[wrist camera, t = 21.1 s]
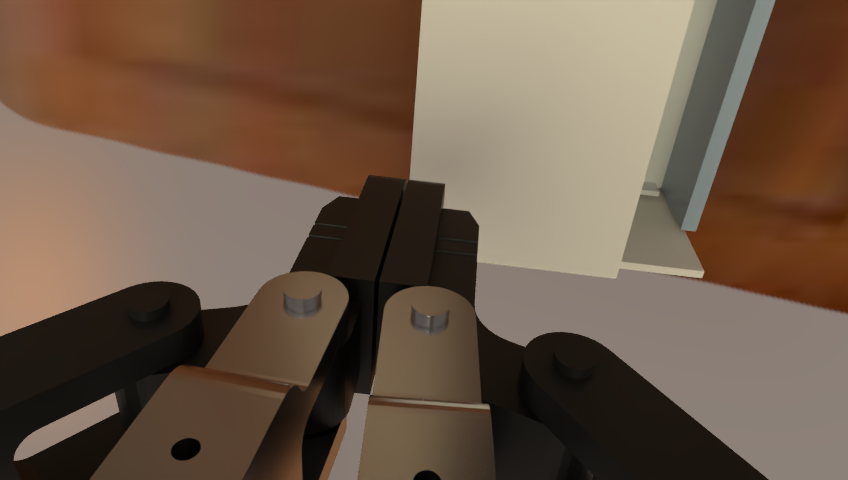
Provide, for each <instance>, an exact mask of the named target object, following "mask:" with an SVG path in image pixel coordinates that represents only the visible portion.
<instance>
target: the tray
mask: <svg viewBox="0 0 848 480" xmlns="http://www.w3.org/2000/svg"><path fill="white" fill-rule="evenodd" d="M774 3H775V0H695V2H694V6H693V9H692V13H691V16H690V20H689V23H688V27H687V30H686V34H685V38H684V41H683V45H682V48H681V52H680V55H679V59H678V62H677V66H676V69H675V73H674V76H673V80H672V84H671V87H670V91H669V94H668V98H667V101H666V105H665V108H664V112H663V115H662V119H661V122H660V126H659V130H658V133H657V137H656V140H655V144H654V147H653V151H652V154H651V158H650V161H649V165H648V168H647V172H646V176H645V179H644V183H643V186H642V190H641V193H640V194H641V195H650V196H659V193H660V191H659V189H658V188H661V189H662V191H663V193H664V196H665V198H666V200H667V202H668V204H669V206H670V208H671V210H672V212H673V215H674V217H675V219H676V221H677V223H678V225H679V227H680V229H681V230H688V231H696V229H697V227H698V224H699V221H700V218H701V215H702V212H703V209H704V206H705V203H706V200H707V198H708V195H709V192H710V189H711V186H712V183H713V180H714V177H715V174H716V171H717V169H718V166H719V163H720V160H721V157H722V154H723V151H724V148H725V145H726V142H727V140H728V137H729V134H730V131H731V128H732V125H733V122H734V119H735V116H736V113H737V111H738V108H739V105H740V102H741V99H742V96H743V93H744V90H745V87H746V84H747V82H748V79H749V76H750V73H751V70H752V67H753V64H754V61H755V58H756V55H757V53H758V50H759V47H760V44H761V41H762V38H763V35H764V32H765V29H766V26H767V24H768V21H769V18H770V15H771V12H772V9H773V6H774Z"/></svg>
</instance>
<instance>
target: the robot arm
mask: <svg viewBox="0 0 848 480" xmlns="http://www.w3.org/2000/svg"><path fill="white" fill-rule="evenodd" d="M444 196H445V184H444V183H436V182H427V181H418V180H408V183H407V186H406V179H399V178H391V177H382V176H373V175H369V176H368V178H367V180H366V183H365V185H364V187H363V190H362V192H361V195H360V197H359V199H358V198H349V197H340V196H339V197H338V198H336V199H335V200H333V201H332V202H330V203H329V204H327V205H326V206H324V207H323V208H322V210H321V211H320V213H319V215H318V218H317V220H316V221H315V225H313V227H312V229H311V231H310V233H309V237H308V238H307V239H306V241H305V243H304V245H303V247H302V249H301V251H300V253H299V255H298V257H297V259H296V261H295V263H294V265H293V267H292V269H291V271H290V273H286V274H283V275H280V276H277V277H275V278H273V279H271V280H270V281H268V282H267V283H265V284H264V285H263V286H262V287H261V289H259V291H258V292H257V294H256V295H255V296H254V298H253V299H252V301H251V302H250V304H249V305H244V306H238V307H230V308H219V309H207V310H201V305H200V299H199V297H198V295H197V294H196V293H195V292H194V291H193V290H192V289H190V288H189V287H187V286H184V285H182V284H178V283H173V282H163V281H160V282H148V283H142V284H138V285H135V286H131V287H128V288H126V289H123V290H120V291H118V292H115V293H112V294H110V295H108V296H105V297H102V298H99V299H97V300H94V301H92V302H89V303H86V304H84V305H81V306H78V307H76V308H74V309H71V310H68V311H65V312H63V313H60V314H58V315H55V316H52V317H50V318H47V319H45V320H42V321H40V322H37V323H34V324H32V325H29V326H26V327H24V328H21V329H18V330H16V331H13V332H11V333H8V334H5V335H3V336H0V480H328V477H329V475H330V472H331V469H332V466H333V464H334V461H335V459H336V456H337V453H338V451H339V448H340V445H341V442H342V440H343V437H344V434H345V431H346V425H347V423H346V421H347V420H346V419H347V414H348V412H349V409H350V406H351V403H352V399H353V395H354V393H362V394H369V395H370V392H371V388H372V384H373V380H374V376H375V380H374V387H373V395H370V397H369V401H368V408H367V414H366V422H365V429H364V436H363V444H362V450H361V457H360V464H359V471H358V479H357V480H768V479H767V478H766V477H765V476H763V475H762V474H761V473H760V472H759V471H757V470H756V469H755V468H754V467H752V466H751V465H750V464H749V463H748V462H746V461H745V460H744V459H743V458H741V457H740V456H739V455H738V454H736V453H735V452H734V451H733V450H732V449H730V448H729V447H728V446H727V445H725V444H724V443H723V442H722V441H721V440H719V439H718V438H717V437H716V436H714V435H713V434H712V433H711V432H709V431H708V430H707V429H706V428H705V427H703V426H702V425H701V424H700V423H698V422H697V421H696V420H694V418H692V417H691V416H690V415H689V414H687V413H686V412H685V411H684V410H682V409H681V408H680V407H679V406H678V405H676V404H675V403H674V402H673V401H671V400H670V399H669V398H668V397H666V396H665V395H664V394H663V393H662V392H660V391H659V390H658V389H657V388H655V387H654V386H653V385H652V384H651V383H649V382H648V381H647V380H646V379H644V378H643V377H642V376H641V375H639V374H638V373H637V372H636V371H635V370H633V369H632V368H631V367H630V366H628V365H627V364H626V363H625V362H624V361H622V360H621V359H620V358H618V357H617V356H616V355H615V354H614V353H613V352H611V351H610V350H609V349H607V348H606V347H605V346H603V345H602V344H600V343H598V342H596V341H595V340H592V339H590V338H588V337H585V336H581V335H578V334H573V333H566V332H553V333H547V334H543V335H540V336H538V337H536V338H534V339H533V340H532V341H530V342H529V343H528V345H527V346H526V347H523V346H521V345H518V344H515V343H512V342H510V341H507V340H505V339H503V338H501V337H499V336H497V335H495V334H494V333H492V332H491V331H490V330H488V329H487V328H486V327H485V326H484V325H483V324H482V323H481V321H480V320H479V318H478V317H477V315H476V312H475V306H474V303H475V287H476V270H477V254H478V238H479V225H478V223H477V222H476V220H475V219H474V217H473V216H472V215H471V213H470V212H469V211H463V210H454V209H446V208H443V205H444ZM114 392H115V395H116V399H117V403H118V407H119V411H120V412H118V413H116V414H114V415H112V416H110V417H109V418H106V419H105V420H102V421H101V422H99V423H96V424H94V425H93V426H91V427H89V428H87V429H85V430H83V431H81V432H79V433H77V434H75V435H73V436H71V437H69V438H67V439H65V440H63V441H61V442H59V443H57V444H55V445H53V446H51V447H49V448H47V449H45V450H43V451H41V452H39V453H37V454H35V455H33V456H31V457H29V458H26V459H23V460H19V461H14V454H15V451H16V449H17V448H18V446H19V444H20V443H21V442H22V441H23V440H24V439H25V438H26V437H27V436H28V435H30V434H31V433H32V432H34V431H36V430H38V429H40V428H42V427H44V426H46V425H48V424H50V423H52V422H54V421H56V420H58V419H60V418H62V417H64V416H67V415H69V414H70V413H73V412H75V411H77V410H79V409H81V408H83V407H85V406H87V405H89V404H91V403H93V402H95V401H97V400H100V399H102V398H104V397H106V396H108V395H110V394H112V393H114Z"/></svg>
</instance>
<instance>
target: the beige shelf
mask: <svg viewBox="0 0 848 480" xmlns="http://www.w3.org/2000/svg"><path fill="white" fill-rule="evenodd" d="M694 2H695V0H422V12H421V26H420V40H419V55H418V69H417V83H416V97H415V111H414V125H413V139H412V153H411V167H410V180H418V181H427V182H436V183H444V184H445V196H444V205H443V208H446V209H454V210H463V211H469V212H470V213H471V215H472V216H473V217H474V219H475V220H476V222H477V223H478V225H479V238H478V254H477V262H480V263H488V264H496V265H505V266H513V267H521V268H530V269H538V270H547V271H554V272H563V273H571V274H580V275H588V276H596V277H605V278H612V279H616V278H617V275H618V271H619V268H621V269H630V270H637V271H646V272H654V273H662V274H671V275H679V276H688V277H696V278H702V277H703V274H704V270H703V268H702V266H701V263H700V261H699V259H698V257H697V255H696V253H695V251H694V249H693V247H692V245H691V243H690V241H689V239H688V237H687V235H686V232H685V230H681V229H680V227H679V225H678V223H677V221H676V219H675V217H674V215H673V212H672V210H671V208H670V206H669V204H668V202H667V200H666V198H665V196H664V193H663V191H662V189H661V188H658V189H659V191H660V193H659V196H650V195H641V194H640V193H641V190H642V186H643V183H644V179H645V176H646V172H647V168H648V165H649V161H650V158H651V154H652V151H653V147H654V144H655V140H656V137H657V133H658V130H659V126H660V122H661V119H662V115H663V112H664V108H665V105H666V101H667V98H668V94H669V91H670V87H671V84H672V80H673V76H674V73H675V69H676V66H677V62H678V59H679V55H680V52H681V48H682V45H683V41H684V38H685V34H686V30H687V27H688V23H689V20H690V16H691V13H692V9H693V6H694Z"/></svg>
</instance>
